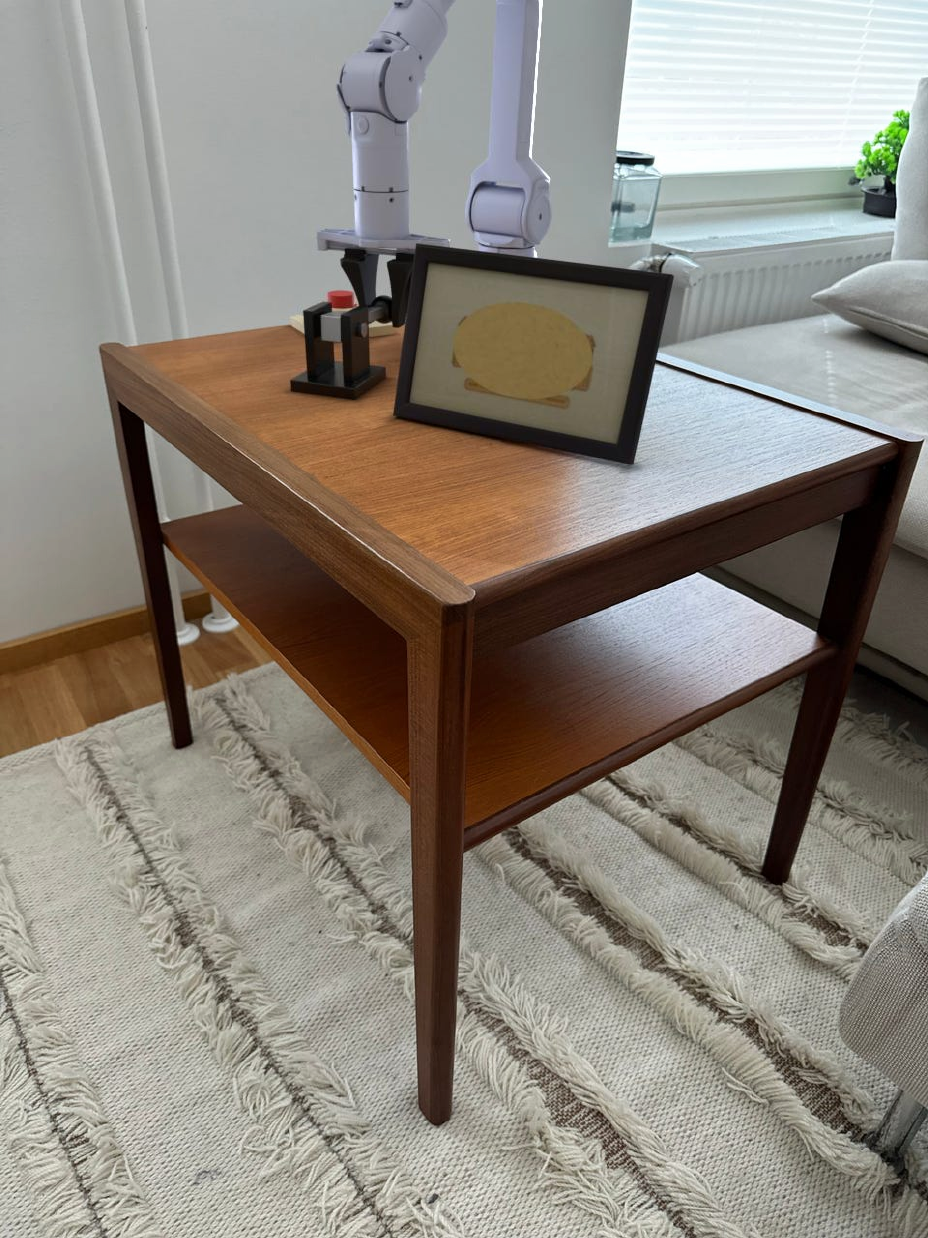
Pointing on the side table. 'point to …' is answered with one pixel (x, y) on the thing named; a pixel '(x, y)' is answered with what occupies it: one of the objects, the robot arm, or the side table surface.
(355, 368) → the bracket
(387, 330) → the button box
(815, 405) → the side table surface
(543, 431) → the picture frame
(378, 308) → the lever
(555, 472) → the side table surface
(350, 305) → the button
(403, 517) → the side table surface
